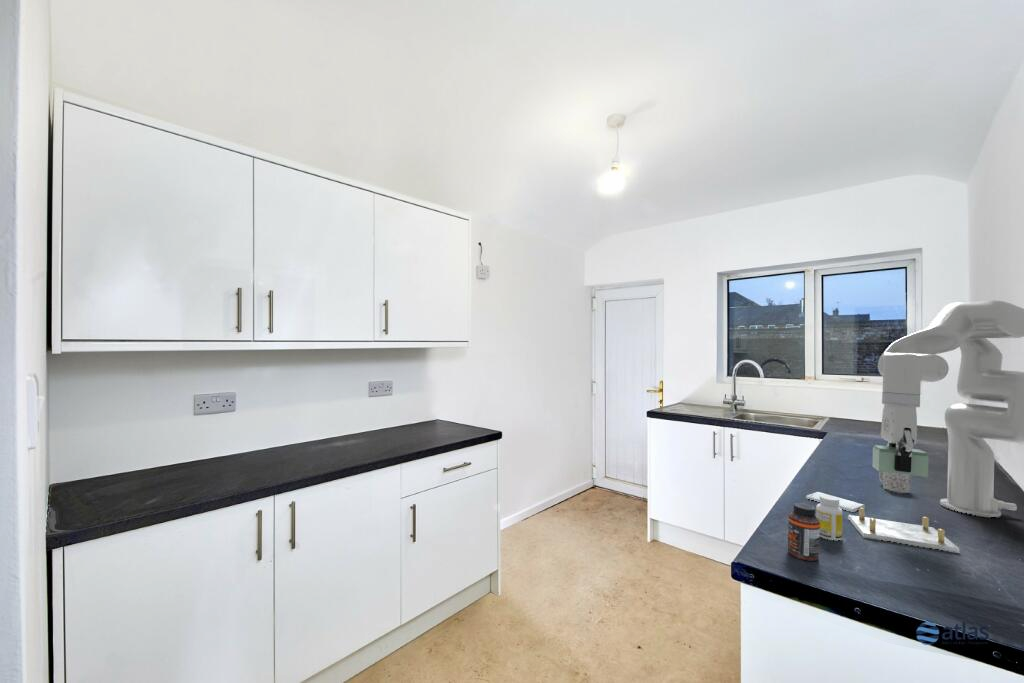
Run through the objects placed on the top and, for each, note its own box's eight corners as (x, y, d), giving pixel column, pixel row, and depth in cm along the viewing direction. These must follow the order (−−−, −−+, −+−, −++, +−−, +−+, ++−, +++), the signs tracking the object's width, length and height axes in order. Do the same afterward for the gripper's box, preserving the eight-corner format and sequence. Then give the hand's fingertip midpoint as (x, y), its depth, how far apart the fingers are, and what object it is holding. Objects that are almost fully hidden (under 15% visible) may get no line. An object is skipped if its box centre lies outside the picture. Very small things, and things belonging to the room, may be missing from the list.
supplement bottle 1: (781, 549, 102) (782, 500, 102) (805, 549, 102) (806, 500, 102) (800, 562, 96) (801, 510, 96) (825, 562, 96) (827, 510, 96)
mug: (914, 494, 144) (915, 474, 144) (894, 493, 144) (894, 473, 144) (889, 484, 154) (889, 465, 154) (870, 483, 154) (870, 464, 154)
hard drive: (805, 495, 137) (852, 508, 126) (818, 491, 141) (864, 503, 130) (805, 500, 137) (852, 514, 126) (818, 496, 141) (864, 509, 130)
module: (919, 472, 116) (920, 449, 116) (928, 477, 111) (928, 453, 111) (872, 466, 120) (872, 444, 120) (878, 471, 115) (879, 448, 115)
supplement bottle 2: (837, 534, 111) (838, 495, 111) (845, 543, 106) (846, 502, 106) (812, 530, 113) (813, 492, 113) (819, 539, 108) (820, 499, 108)
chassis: (932, 531, 114) (933, 515, 114) (959, 553, 102) (959, 535, 102) (848, 518, 121) (848, 503, 121) (863, 537, 109) (864, 520, 109)
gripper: (872, 395, 125) (870, 459, 125) (894, 401, 110) (892, 474, 109) (906, 398, 122) (903, 463, 122) (933, 404, 106) (931, 479, 106)
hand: (898, 467), depth 116 cm, fingers closed on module, 5 cm apart
